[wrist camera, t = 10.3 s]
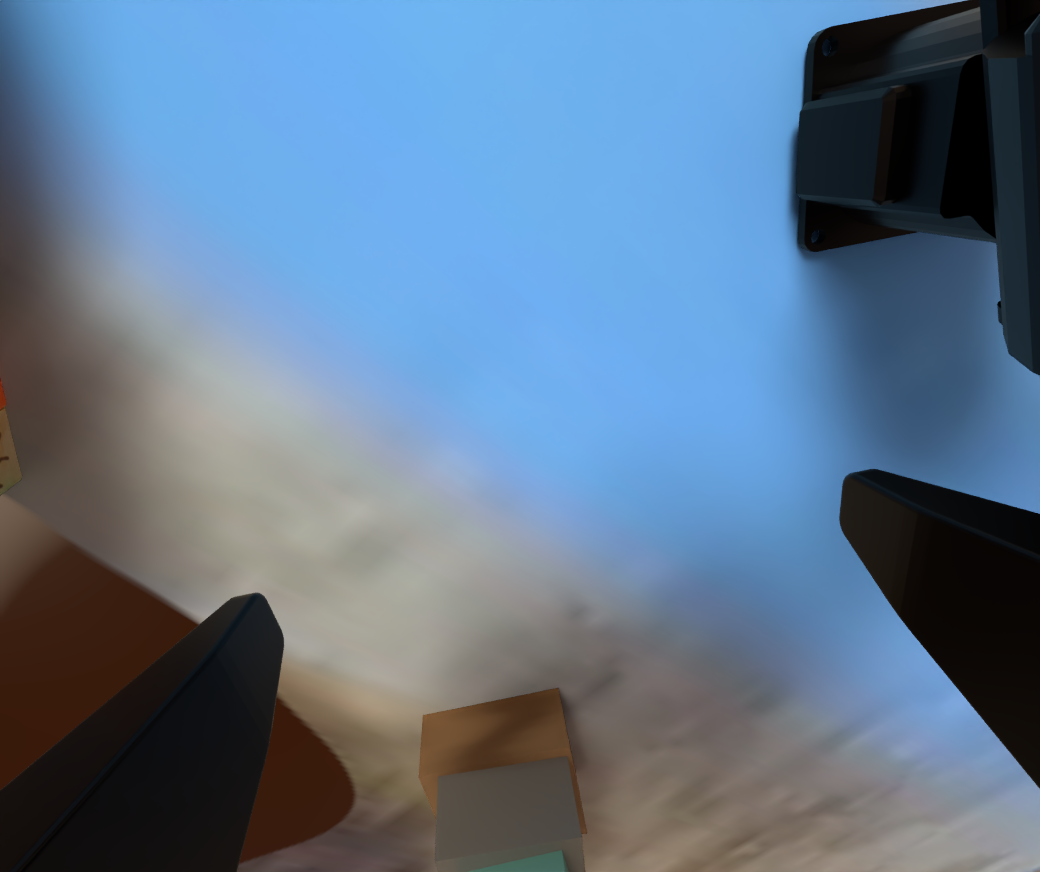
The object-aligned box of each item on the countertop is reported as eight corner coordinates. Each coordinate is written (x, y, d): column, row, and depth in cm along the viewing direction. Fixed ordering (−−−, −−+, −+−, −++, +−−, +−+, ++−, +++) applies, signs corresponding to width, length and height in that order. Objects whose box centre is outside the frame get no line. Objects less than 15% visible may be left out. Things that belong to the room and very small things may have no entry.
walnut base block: (557, 683, 29) (569, 746, 26) (574, 767, 32) (586, 833, 29) (423, 710, 29) (418, 776, 26) (453, 792, 32) (452, 860, 29)
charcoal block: (567, 755, 26) (581, 837, 23) (575, 830, 29) (589, 913, 25) (437, 776, 26) (434, 861, 23) (458, 850, 28) (458, 935, 25)
